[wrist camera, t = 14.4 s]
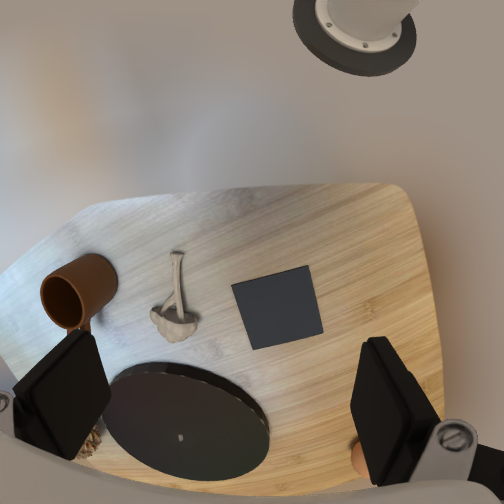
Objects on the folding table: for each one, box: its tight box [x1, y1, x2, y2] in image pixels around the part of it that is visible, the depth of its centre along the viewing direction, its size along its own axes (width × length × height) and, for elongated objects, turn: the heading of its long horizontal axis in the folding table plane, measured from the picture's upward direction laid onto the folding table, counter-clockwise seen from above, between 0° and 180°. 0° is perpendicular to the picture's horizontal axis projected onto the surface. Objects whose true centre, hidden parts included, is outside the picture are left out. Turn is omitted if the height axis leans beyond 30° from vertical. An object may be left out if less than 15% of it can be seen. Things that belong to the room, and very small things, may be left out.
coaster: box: [231, 265, 323, 350], centre depth 39 cm, size 10×10×1 cm
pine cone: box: [75, 423, 102, 459], centre depth 42 cm, size 22×10×10 cm, turn 7°
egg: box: [351, 441, 370, 479], centre depth 41 cm, size 7×7×9 cm
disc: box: [102, 363, 270, 481], centre depth 45 cm, size 30×30×3 cm
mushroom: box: [150, 253, 197, 343], centre depth 38 cm, size 7×5×12 cm
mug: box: [40, 254, 117, 335], centre depth 36 cm, size 12×8×9 cm, turn 176°
